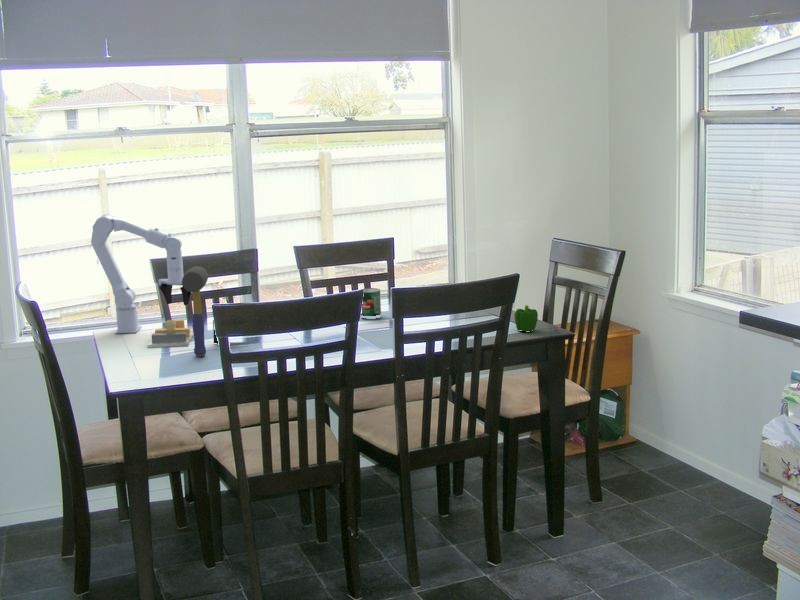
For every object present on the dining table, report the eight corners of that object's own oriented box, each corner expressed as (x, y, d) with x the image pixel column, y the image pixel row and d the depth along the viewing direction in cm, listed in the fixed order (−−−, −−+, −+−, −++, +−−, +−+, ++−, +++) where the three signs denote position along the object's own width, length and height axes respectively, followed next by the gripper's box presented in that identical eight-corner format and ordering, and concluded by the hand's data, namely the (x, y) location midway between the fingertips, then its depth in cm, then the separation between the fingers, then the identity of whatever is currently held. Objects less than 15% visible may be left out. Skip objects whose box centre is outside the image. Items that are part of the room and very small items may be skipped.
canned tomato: (383, 315, 365) (382, 288, 363) (378, 320, 358) (378, 292, 355) (363, 315, 367) (362, 287, 364) (358, 319, 359) (357, 291, 357)
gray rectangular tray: (158, 331, 347) (158, 322, 346) (196, 330, 348) (196, 320, 347) (147, 347, 323) (146, 337, 323) (188, 345, 324) (187, 336, 324)
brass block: (168, 336, 334) (166, 320, 333) (176, 336, 334) (175, 320, 333) (166, 339, 330) (165, 323, 329) (175, 339, 330) (173, 322, 329)
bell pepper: (516, 328, 340) (517, 301, 338) (539, 329, 337) (539, 302, 335) (511, 333, 332) (512, 306, 330) (534, 334, 329) (534, 307, 327)
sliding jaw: (160, 330, 344) (159, 320, 343) (192, 329, 345) (192, 319, 344) (155, 337, 333) (154, 327, 333) (189, 335, 334) (188, 325, 334)
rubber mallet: (209, 360, 304) (203, 270, 298) (186, 361, 304) (179, 271, 298) (214, 351, 317) (208, 264, 311) (192, 351, 316) (186, 265, 310)
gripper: (152, 269, 346) (155, 305, 348) (185, 271, 340) (187, 307, 343) (163, 266, 352) (166, 301, 355) (196, 268, 347) (198, 303, 349)
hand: (177, 304), depth 349 cm, fingers open, 7 cm apart
